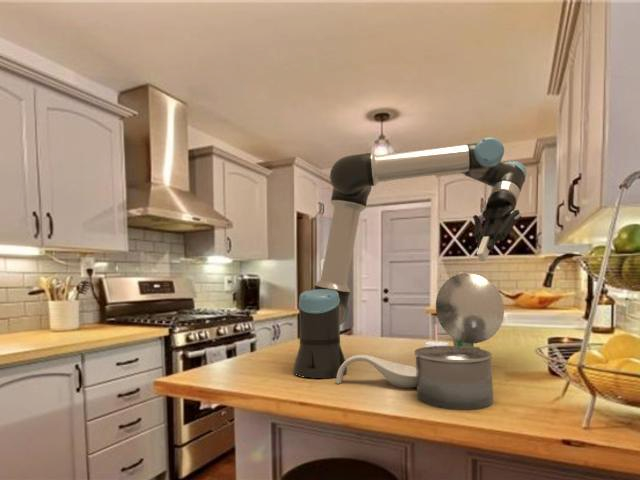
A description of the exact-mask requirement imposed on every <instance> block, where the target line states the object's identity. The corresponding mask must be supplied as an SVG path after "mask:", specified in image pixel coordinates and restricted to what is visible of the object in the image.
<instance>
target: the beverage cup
mask: <svg viewBox="0 0 640 480" xmlns="http://www.w3.org/2000/svg"><path fill="white" fill-rule="evenodd" d="M434 329H435V335H434V336H435V340H434V341H433V340H432V341H426V342H425V343H424V345H425V346H424V347H431V346H450V345H449V344H450V343H449V342H446V341H439V340H438V324H436V323H435V324H434Z"/></svg>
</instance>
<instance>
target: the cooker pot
mask: <svg viewBox="0 0 640 480" xmlns="http://www.w3.org/2000/svg"><path fill="white" fill-rule="evenodd" d="M414 356H415V367H416V378H417V387H416V397H417V400H418V401H420V402H421V403H423V404H425V405H429V406H432V407H436V408H440V409H445V410H455V411H458V410H460V411H472V410H481V409H482V410H483V409H485V408H488V407H491V406H492V405H493V404H494V391H493V389H494V388H493V387H494V386H493V375H492V374H493V373H492V372H493V370H492V356H493V354H492V353H491V351H488V350H486V349H482V348H480V347H479V346H474V347H472V346H454V345H448V346H431V347H426V346H424V347H419V348H417V349H415V350H414Z"/></svg>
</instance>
